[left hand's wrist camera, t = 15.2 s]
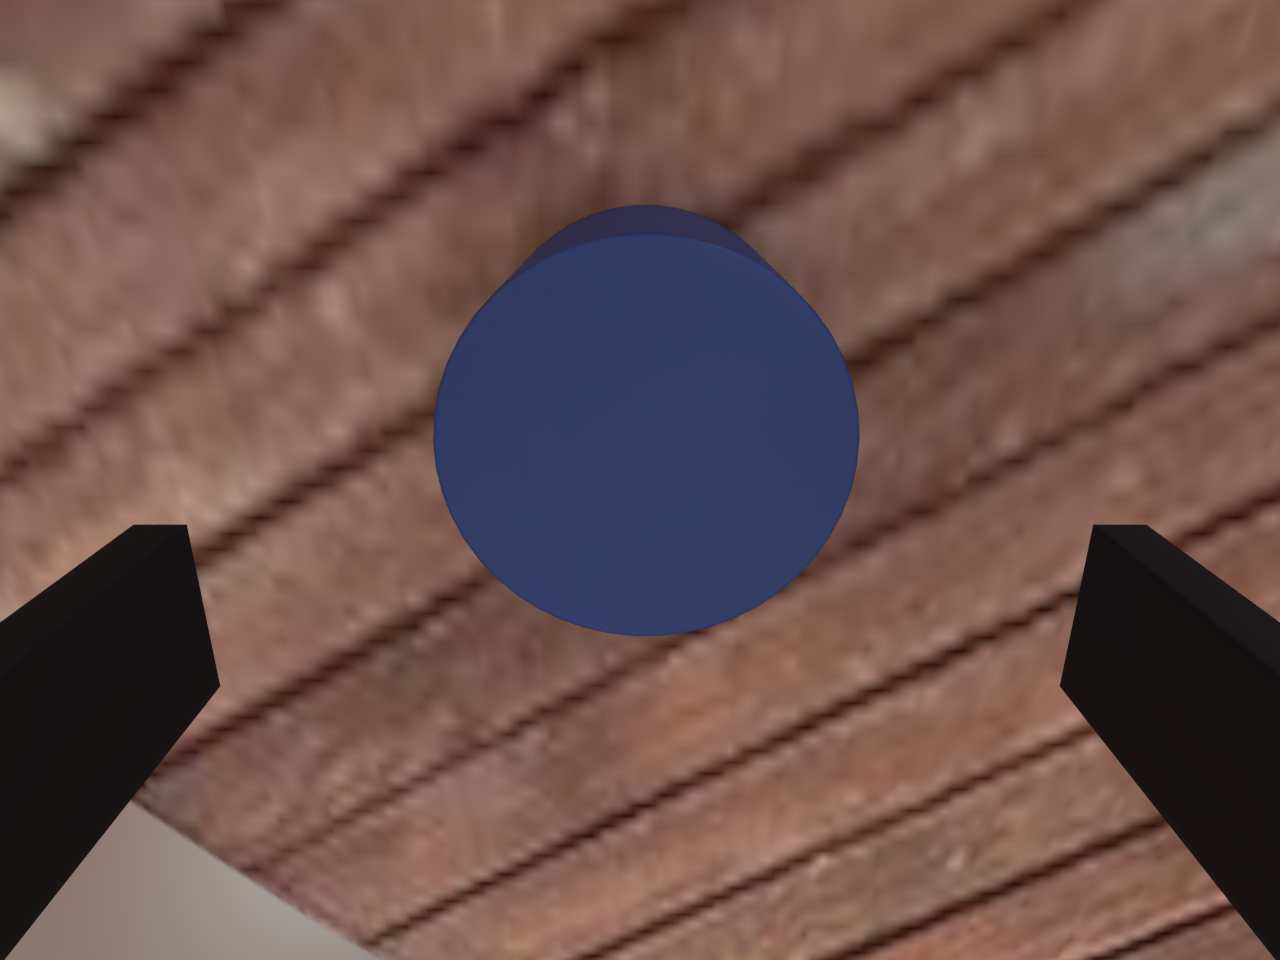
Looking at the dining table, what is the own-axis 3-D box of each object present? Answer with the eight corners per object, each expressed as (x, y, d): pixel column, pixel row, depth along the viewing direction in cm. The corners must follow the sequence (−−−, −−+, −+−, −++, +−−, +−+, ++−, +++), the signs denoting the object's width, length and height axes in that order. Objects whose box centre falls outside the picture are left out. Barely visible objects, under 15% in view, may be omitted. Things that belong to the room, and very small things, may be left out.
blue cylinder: (432, 379, 25) (348, 474, 18) (627, 132, 23) (620, 128, 16) (659, 555, 28) (665, 704, 20) (860, 348, 25) (950, 432, 18)
